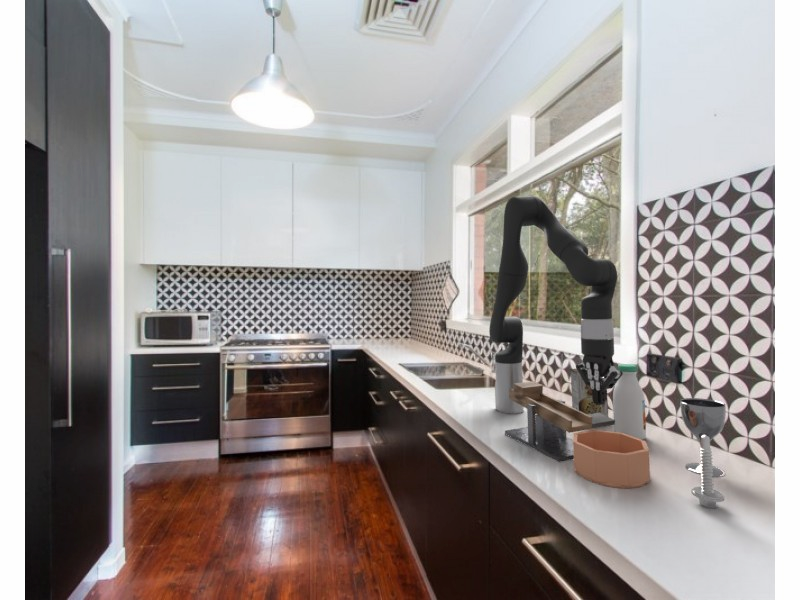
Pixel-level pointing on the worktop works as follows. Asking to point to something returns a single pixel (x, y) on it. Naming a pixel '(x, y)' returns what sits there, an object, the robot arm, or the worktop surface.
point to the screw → (707, 478)
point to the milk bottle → (629, 404)
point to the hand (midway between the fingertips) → (599, 404)
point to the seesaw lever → (556, 409)
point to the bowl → (611, 459)
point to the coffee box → (585, 396)
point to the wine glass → (703, 423)
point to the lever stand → (544, 437)
